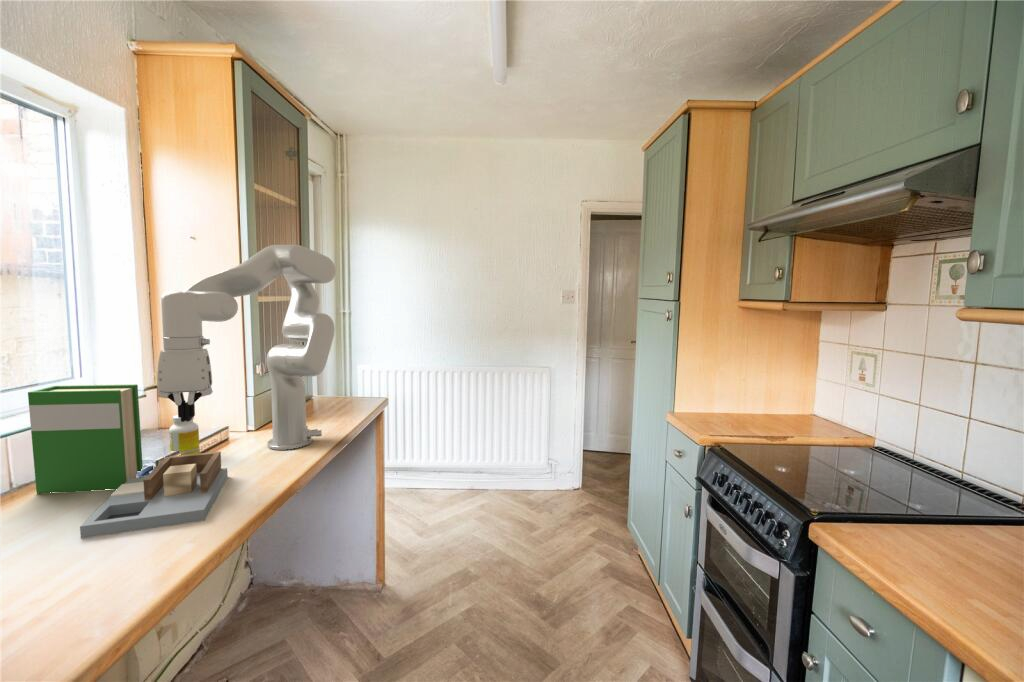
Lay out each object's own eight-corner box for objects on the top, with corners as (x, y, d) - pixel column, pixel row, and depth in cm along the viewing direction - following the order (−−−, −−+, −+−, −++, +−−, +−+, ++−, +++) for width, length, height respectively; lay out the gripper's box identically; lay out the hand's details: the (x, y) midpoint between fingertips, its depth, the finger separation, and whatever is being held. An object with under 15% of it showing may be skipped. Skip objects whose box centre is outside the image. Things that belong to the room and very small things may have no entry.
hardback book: (143, 477, 114) (137, 384, 112) (124, 489, 107) (117, 390, 105) (61, 481, 111) (53, 385, 108) (36, 494, 104) (27, 392, 101)
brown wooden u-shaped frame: (221, 468, 115) (220, 451, 114) (207, 492, 101) (206, 473, 101) (167, 474, 110) (166, 456, 110) (144, 500, 97) (143, 480, 96)
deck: (227, 476, 116) (227, 466, 115) (204, 520, 93) (204, 507, 93) (130, 488, 108) (129, 476, 108) (80, 538, 86) (79, 524, 86)
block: (197, 484, 105) (196, 463, 105) (191, 492, 101) (190, 471, 100) (171, 487, 103) (170, 466, 103) (164, 496, 99) (163, 474, 98)
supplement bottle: (205, 456, 129) (203, 413, 128) (187, 465, 123) (184, 419, 121) (184, 455, 130) (182, 412, 128) (164, 463, 123) (162, 418, 122)
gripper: (223, 342, 112) (226, 414, 114) (150, 343, 106) (154, 418, 108) (217, 345, 105) (220, 421, 107) (138, 346, 99) (142, 427, 101)
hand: (186, 420), depth 107 cm, fingers closed
